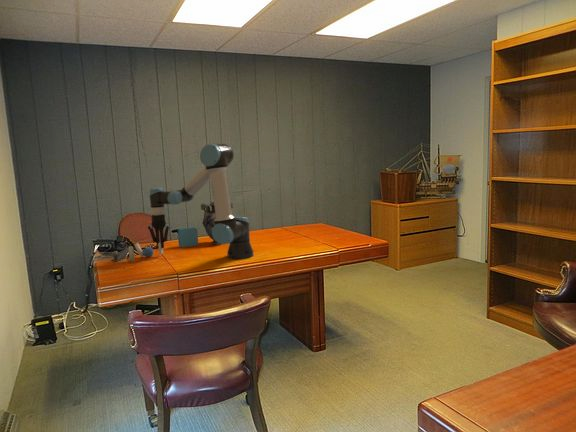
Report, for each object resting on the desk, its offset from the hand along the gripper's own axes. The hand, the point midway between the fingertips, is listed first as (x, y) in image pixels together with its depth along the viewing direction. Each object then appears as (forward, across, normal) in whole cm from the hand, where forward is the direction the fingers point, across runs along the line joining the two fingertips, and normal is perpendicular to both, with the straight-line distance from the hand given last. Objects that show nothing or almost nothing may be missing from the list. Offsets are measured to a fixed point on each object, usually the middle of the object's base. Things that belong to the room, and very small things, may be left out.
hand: (161, 253), depth 252 cm
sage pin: (+2, +14, +9) cm, 17 cm away
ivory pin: (+2, +11, 0) cm, 11 cm away
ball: (-1, +8, 0) cm, 8 cm away
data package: (+2, -8, -30) cm, 31 cm away
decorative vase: (+2, -27, -37) cm, 46 cm away
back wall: (+2, +23, 0) cm, 23 cm away
